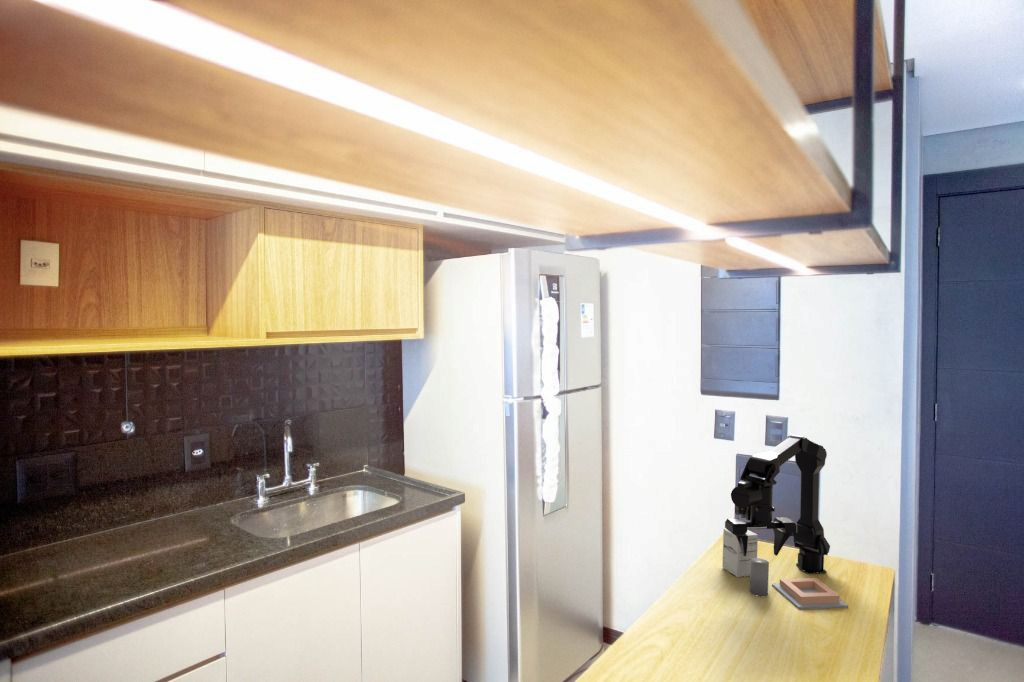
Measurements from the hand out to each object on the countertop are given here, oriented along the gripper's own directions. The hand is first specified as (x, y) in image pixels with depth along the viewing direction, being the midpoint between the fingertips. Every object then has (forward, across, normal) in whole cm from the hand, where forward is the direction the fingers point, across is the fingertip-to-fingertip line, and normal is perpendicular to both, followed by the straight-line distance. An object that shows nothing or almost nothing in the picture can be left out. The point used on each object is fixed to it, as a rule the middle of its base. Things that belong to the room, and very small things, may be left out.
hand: (760, 555), depth 170 cm
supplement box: (+11, -1, -14) cm, 18 cm away
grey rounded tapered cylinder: (+11, 0, 0) cm, 11 cm away
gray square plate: (+11, -13, +3) cm, 17 cm away
